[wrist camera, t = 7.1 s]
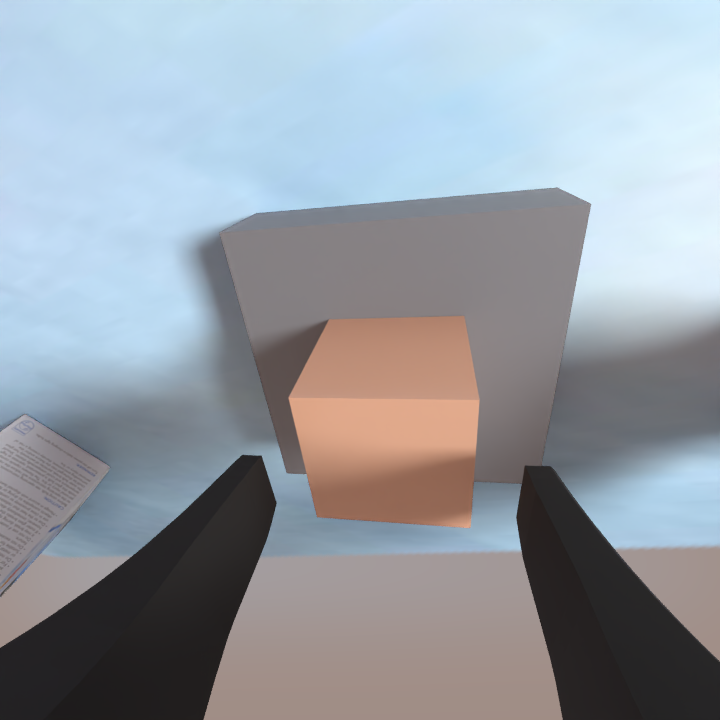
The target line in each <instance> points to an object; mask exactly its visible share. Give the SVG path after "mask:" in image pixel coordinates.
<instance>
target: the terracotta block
mask: <svg viewBox="0 0 720 720" xmlns="http://www.w3.org/2000/svg"><path fill="white" fill-rule="evenodd" d="M479 401H480V400H479V394H478V389H477V383H476V378H475V372H474V367H473V361H472V356H471V350H470V345H469V339H468V334H467V328H466V323H465V317H464V316H439V317H401V318H364V319H329V321H328V322H327V324H326V326H325V328H324V330H323V332H322V334H321V336H320V338H319V340H318V342H317V344H316V346H315V348H314V349H313V351H312V353H311V355H310V357H309V359H308V361H307V363H306V365H305V367H304V369H303V371H302V373H301V375H300V376H299V378H298V380H297V382H296V384H295V386H294V388H293V390H292V392H291V394H290V396H289V402H290V406H291V410H292V415H293V419H294V423H295V427H296V431H297V435H298V440H299V444H300V448H301V452H302V456H303V460H304V465H305V469H306V473H307V477H308V481H309V485H310V490H311V494H312V498H313V502H314V506H315V510H316V515H317V517H321V518H335V519H350V520H364V521H378V522H392V523H406V524H420V525H435V526H449V527H463V528H470V526H471V512H472V498H473V485H474V471H475V457H476V443H477V429H478V415H479Z"/></svg>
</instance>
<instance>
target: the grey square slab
mask: <svg viewBox="0 0 720 720" xmlns="http://www.w3.org/2000/svg"><path fill="white" fill-rule="evenodd" d="M590 207H591V204H590V203H588V202H586V201H584V200H582V199H580V198H578V197H576V196H574V195H572V194H569V193H567V192H565V191H563V190H561V189H559V188H547V189H535V190H523V191H512V192H500V193H488V194H477V195H465V196H453V197H442V198H430V199H418V200H407V201H395V202H383V203H372V204H360V205H348V206H337V207H325V208H313V209H302V210H290V211H278V212H266V213H256V214H254V215H252V216H250V217H248V218H247V219H245V220H243V221H241V222H239V223H237V224H235V225H233V226H231V227H229V228H227V229H225V230H223V231H221V232H220V237H221V240H222V244H223V248H224V251H225V255H226V258H227V262H228V265H229V269H230V272H231V276H232V280H233V283H234V287H235V290H236V294H237V297H238V301H239V305H240V308H241V312H242V315H243V319H244V322H245V326H246V329H247V333H248V337H249V340H250V344H251V347H252V351H253V354H254V358H255V361H256V365H257V369H258V372H259V376H260V379H261V383H262V386H263V390H264V394H265V397H266V401H267V404H268V408H269V411H270V415H271V418H272V422H273V426H274V429H275V433H276V436H277V440H278V443H279V447H280V450H281V454H282V458H283V461H284V465H285V468H286V472H287V473H291V474H307V473H306V469H305V465H304V460H303V456H302V452H301V448H300V444H299V440H298V435H297V431H296V427H295V423H294V419H293V415H292V410H291V406H290V402H289V396H290V394H291V392H292V390H293V388H294V386H295V384H296V382H297V380H298V378H299V376H300V375H301V373H302V371H303V369H304V367H305V365H306V363H307V361H308V359H309V357H310V355H311V353H312V351H313V349H314V348H315V346H316V344H317V342H318V340H319V338H320V336H321V334H322V332H323V330H324V328H325V326H326V324H327V322H328V321H329V319H364V318H401V317H439V316H464V317H465V323H466V328H467V334H468V339H469V345H470V350H471V356H472V361H473V367H474V372H475V378H476V383H477V389H478V394H479V400H480V401H479V415H478V429H477V443H476V457H475V471H474V482H496V483H519V484H522V480H523V474H524V468H525V465H526V466H541V464H542V459H543V453H544V448H545V443H546V438H547V432H548V427H549V422H550V417H551V411H552V406H553V401H554V396H555V390H556V385H557V380H558V375H559V370H560V364H561V359H562V354H563V349H564V343H565V338H566V333H567V328H568V322H569V317H570V312H571V307H572V301H573V296H574V291H575V286H576V280H577V275H578V270H579V265H580V259H581V254H582V249H583V244H584V238H585V233H586V228H587V223H588V217H589V212H590Z"/></svg>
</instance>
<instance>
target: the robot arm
mask: <svg viewBox="0 0 720 720" xmlns="http://www.w3.org/2000/svg"><path fill="white" fill-rule="evenodd" d="M275 507H276V500H275V497H274V493H273V490H272V487H271V484H270V481H269V478H268V475H267V471H266V468H265V465H264V462H263V459H262V456H252V455H242V456H241V457H240V458H239V459H238V460H236V461H235V462H234V463H233V464H232V465H231V466H230V467H229V468H228V469H227V470H226V471H225V472H224V473H223V474H222V475H221V476H220V477H219V478H218V479H217V480H216V481H215V482H214V483H213V484H212V485H211V486H210V487H209V488H208V489H207V490H206V491H205V492H204V493H203V494H202V495H200V496H199V497H198V498H197V499H196V500H195V501H194V502H193V503H192V504H191V505H190V506H189V507H188V508H187V509H186V510H185V511H184V512H183V513H181V514H180V515H179V516H178V517H177V518H176V519H175V520H174V521H173V522H171V523H170V524H169V525H168V526H167V527H166V528H165V529H163V530H162V531H161V532H160V533H159V534H158V535H157V536H156V537H154V538H153V539H152V540H151V541H150V542H149V543H148V544H146V545H145V546H144V547H143V548H142V549H140V550H139V551H138V552H137V553H136V554H134V555H133V556H132V557H131V558H129V559H128V560H127V561H126V562H124V563H123V564H122V565H121V566H119V567H118V568H117V569H115V570H114V571H113V572H112V573H110V574H109V575H108V576H106V577H105V578H104V579H102V580H101V581H100V582H98V583H97V584H96V585H94V586H93V587H91V588H90V589H88V590H87V591H86V592H84V593H83V594H81V595H80V596H78V597H77V598H76V599H74V600H73V601H71V602H70V603H68V604H67V605H66V606H64V607H63V608H61V609H60V610H58V611H57V612H56V613H54V614H53V615H51V616H50V617H48V618H47V619H45V620H44V621H42V622H40V623H39V624H38V625H36V626H34V627H33V628H31V629H30V630H28V631H27V632H25V633H23V634H22V635H20V636H19V637H17V638H15V639H14V640H12V641H11V642H9V643H7V644H6V645H4V646H3V647H1V648H0V720H203V719H204V716H205V712H206V709H207V705H208V702H209V698H210V695H211V691H212V688H213V684H214V681H215V677H216V674H217V671H218V668H219V664H220V661H221V658H222V655H223V651H224V648H225V645H226V641H227V639H228V636H229V633H230V630H231V627H232V625H233V622H234V619H235V617H236V614H237V612H238V609H239V607H240V604H241V602H242V599H243V597H244V595H245V592H246V590H247V587H248V585H249V582H250V579H251V577H252V575H253V572H254V570H255V567H256V565H257V563H258V560H259V558H260V555H261V553H262V550H263V547H264V545H265V542H266V540H267V537H268V533H269V530H270V526H271V523H272V519H273V515H274V511H275ZM516 518H517V525H518V531H519V538H520V544H521V550H522V555H523V560H524V564H525V568H526V571H527V575H528V578H529V583H530V586H531V590H532V594H533V597H534V601H535V604H536V608H537V612H538V615H539V619H540V622H541V626H542V629H543V634H544V637H545V641H546V644H547V648H548V651H549V655H550V659H551V664H552V668H553V672H554V676H555V681H556V685H557V691H558V696H559V701H560V707H561V712H562V717H563V720H720V662H719V660H718V659H717V658H716V657H714V656H713V655H712V654H711V653H710V652H709V651H708V650H707V649H706V648H705V647H704V646H703V645H702V644H701V643H700V642H699V641H698V640H697V639H696V638H695V637H694V636H693V635H692V634H691V633H690V632H689V631H688V630H687V629H686V628H685V627H684V626H683V625H682V624H681V623H680V622H679V621H678V620H677V618H675V617H674V615H673V614H672V613H671V612H670V611H669V610H668V609H667V608H666V607H665V606H664V605H663V604H662V603H661V602H660V600H659V599H658V598H656V596H655V595H654V594H653V593H652V592H651V591H650V590H649V589H648V587H647V586H646V585H645V584H644V583H643V582H642V581H641V579H639V577H638V576H637V575H636V574H635V573H634V572H633V571H632V569H631V568H630V567H629V566H628V565H627V563H626V562H625V561H624V560H623V559H622V558H621V556H620V555H619V554H618V553H617V552H616V550H615V549H614V548H613V547H612V546H611V544H610V543H609V542H608V541H607V539H606V538H605V537H604V536H603V534H602V533H601V532H600V531H599V530H598V528H597V527H596V526H595V525H594V523H593V522H592V521H591V519H590V518H589V517H588V516H587V514H586V513H585V512H584V510H583V509H582V508H581V506H580V505H579V504H578V502H577V501H576V500H575V498H574V497H573V496H572V494H571V493H570V492H569V490H568V489H567V487H566V486H565V485H564V483H563V482H562V480H561V479H560V478H559V476H558V475H557V473H556V472H555V470H554V469H553V468H552V467H551V466H526V465H525V468H524V474H523V480H522V486H521V492H520V498H519V504H518V511H517V517H516Z"/></svg>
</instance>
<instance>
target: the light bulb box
mask: <svg viewBox="0 0 720 720" xmlns="http://www.w3.org/2000/svg"><path fill="white" fill-rule="evenodd" d="M109 469H110V467H109V466H108V465H107V464H105V463H104V462H102V461H100V460H99V459H97V458H96V457H94V456H92V455H91V454H89V453H88V452H86V451H84V450H83V449H81V448H80V447H78V446H76V445H75V444H73V443H72V442H70V441H68V440H67V439H65V438H64V437H62V436H60V435H59V434H57V433H55V432H54V431H52V430H51V429H49V428H47V427H46V426H44V425H43V424H41V423H39V422H38V421H36V420H34V419H33V418H31V417H30V416H28V415H26V414H24V415H22V416H21V417H20V418H18V419H17V420H16V421H14V422H13V423H12V424H10V425H9V426H7V427H6V428H5V429H3V430H2V431H1V432H0V598H1V597H2V595H3V594H4V593H5V592H6V591H7V590H8V589H9V588H10V587H11V585H12V584H13V583H14V582H15V581H16V580H17V579H18V578H19V577H20V576H21V575H22V574H23V573H24V571H25V570H26V569H27V568H28V567H29V566H30V565H31V564H32V563H33V562H34V560H35V559H36V558H37V557H38V556H39V555H40V554H41V553H42V551H43V550H44V549H45V548H46V547H47V546H48V545H49V544H50V543H51V541H52V540H53V539H54V538H55V537H56V536H57V535H58V534H59V532H60V531H61V530H62V529H63V528H64V527H65V526H66V524H67V523H68V522H69V521H70V520H71V518H72V517H73V516H74V515H75V513H76V512H77V511H78V510H79V508H80V507H81V506H82V504H83V503H84V502H85V501H86V499H87V498H88V497H89V496H90V494H91V493H92V492H93V491H94V489H95V488H96V487H97V486H98V484H99V483H100V482H101V480H102V479H103V478H104V476H105V475H106V474H107V472H108V471H109Z"/></svg>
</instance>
